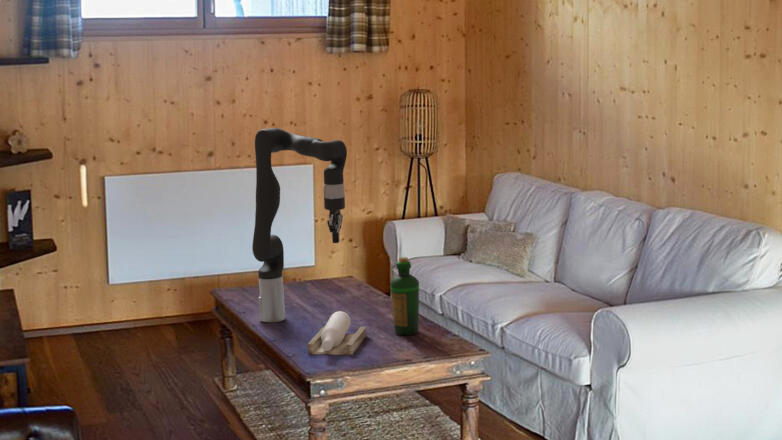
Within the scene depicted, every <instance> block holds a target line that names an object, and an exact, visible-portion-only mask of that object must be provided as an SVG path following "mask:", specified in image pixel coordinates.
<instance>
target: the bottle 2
mask: <svg viewBox="0 0 782 440" xmlns="http://www.w3.org/2000/svg"><path fill="white" fill-rule="evenodd" d="M395 268H396V269H397V273H398V274H396V276H394V277H393V278H392V280H391V281H390V283H389V288H390V297H391V308H392V316H393V318H392V319H393V326H394V332H395V334H397V335H398V336H413V335H416V334H418V332H419V314H420V313H419V309H420V296H419V295H420V281H419V280H418V279H417V277H415V276H414V275H412V274H410V272H411V268H412V265H411V261H410V260H408V257H406V256H404V257H403V256H401V257H399V258H398V261H397V262H396V267H395Z"/></svg>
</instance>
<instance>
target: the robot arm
mask: <svg viewBox="0 0 782 440" xmlns="http://www.w3.org/2000/svg"><path fill="white" fill-rule="evenodd" d="M254 151H255V164H256V165H255V166H256V167H255V169H256V171H255V174H256V175H255V176H256V178H255V179H256V180H255V181H256V182H255V183H256V185H255V215H254V216H255V217H254V218H255V220H254V228H253V229H254V230H253V236H252V237H253V239H252V254H253V256H254V258H255V259H256V261H258V262H260V263H263V264H262V266H261V267H260V268H259V269H258V272H257V273H258V275H257V276H258V287H259V297H258V299H257V300H258V301H257V302H258V312H259V313H258V314H259V322H264V323H279V322H282V321H285V319H286V312H285V311H286V310H285V309H286V308H285V295H284V294H285V293H284V281H283V277H284V276H283V270H284V267H285V266H284V265H285V258H284V254H285V253H284V245H283V241H282V240H281V238H280V237H279V236H277V234H276V235H275V234H271V233H272V225H273V222H274V220H275V218H276V216H277V213H278V210H279V208H280V204H281V185H280V183H279V180H278V178H277V176H276V174H275V173H274V171H273V167H272V154H273V153H278V152H282V151H293V152H296V153H298V154H299V155H301V156H305V157H311V158H314V159H316V160H319V161H322V162H330V164H329V165H328V166H327V167H325V168H324V170H323V202H324V203H323V205H324V206H323V207H324V209H325V210H326V211H329V214H328V216H327V217H328V220H327V221H326V223H327V227H328V230H329V232H330V233H331V237H332V238H331V239H332V243H333V244H338V243H340V231H341V229H342V225H343V217H344V215H343V214H342V212H341V210H344V209H345V208H346V198H345V197H346V195H345V193H346V192H345V185H344V169H345V165H346V160H347V156H348V150H347V146H346V144H345V143H344V141H342V140H341V139H336V140H330V141H323V140H322V139H321V138H317V137H310V136H305V135H304V136H303V135H298V134H294V133H292V132H289V131H286V130H284V129H282V128H279V127H270V128H262V129H260V130H258V131H257V132H256V134H255V137H254Z"/></svg>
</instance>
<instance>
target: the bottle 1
mask: <svg viewBox="0 0 782 440" xmlns="http://www.w3.org/2000/svg"><path fill="white" fill-rule="evenodd" d="M351 322H352V321H351V318H350V316H349V314H348V313H346V312H344V311H341V310H339V311H335V312H333V314H331V315H330V316H329V319H328V321H327V323H326V324H325V328H324V329H323V331H322V333H321V340H322V348H323V350H325V351H329V350H331V349H332V348H334V347H337V346H339V345H340V344H341V342H342V340H343V338H344V336H345V334H347V332H348V330H349V328H350V326H351Z"/></svg>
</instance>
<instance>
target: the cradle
mask: <svg viewBox="0 0 782 440" xmlns="http://www.w3.org/2000/svg"><path fill="white" fill-rule="evenodd" d="M325 326H326V325H325ZM325 326H322V328H321V329H320V330H319V331H318V332H317V333H316V334H315V335H314V336H313V337H312V338H311V340H310V341H309V342H308V343H307V355H333V356H335V355H336V356H337V355H338V356H340V355H341V356H343V355H345V356H347V355H348V356H349V355H350V356H353V355H354V354H355V352H356V351H357V350H358V348H359V347H360V345H362V343H363V342H364V341H365V339H366V338H367V336H368V335H367V326H360V327H359V328H358V330H357V331H356V332H355V333H346V334H345V336H344V338H343V340H342V342H341V344H340V345H339V346H337V347H334V348H332V349H331V350H329V351H325V350H323V348H322V340H321V333H322V331H323V329H324V328H325Z"/></svg>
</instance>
